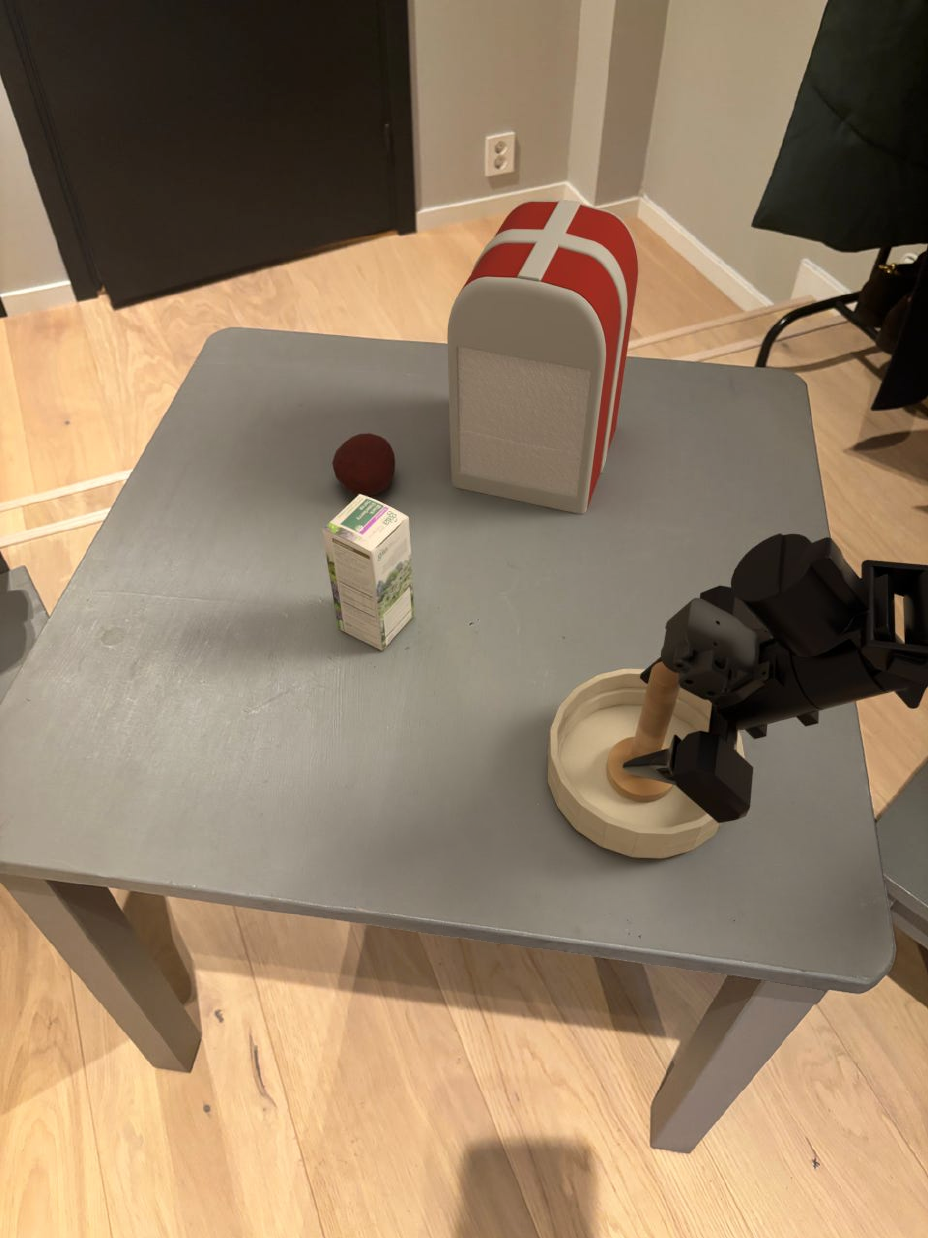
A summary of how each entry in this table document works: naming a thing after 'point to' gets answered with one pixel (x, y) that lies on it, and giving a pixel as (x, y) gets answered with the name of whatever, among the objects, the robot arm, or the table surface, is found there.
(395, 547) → the syrup box
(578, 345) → the red white rounded box
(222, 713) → the table surface
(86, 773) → the table surface
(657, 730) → the tan wooden tall post
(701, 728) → the bowl
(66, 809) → the table surface
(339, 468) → the potato
